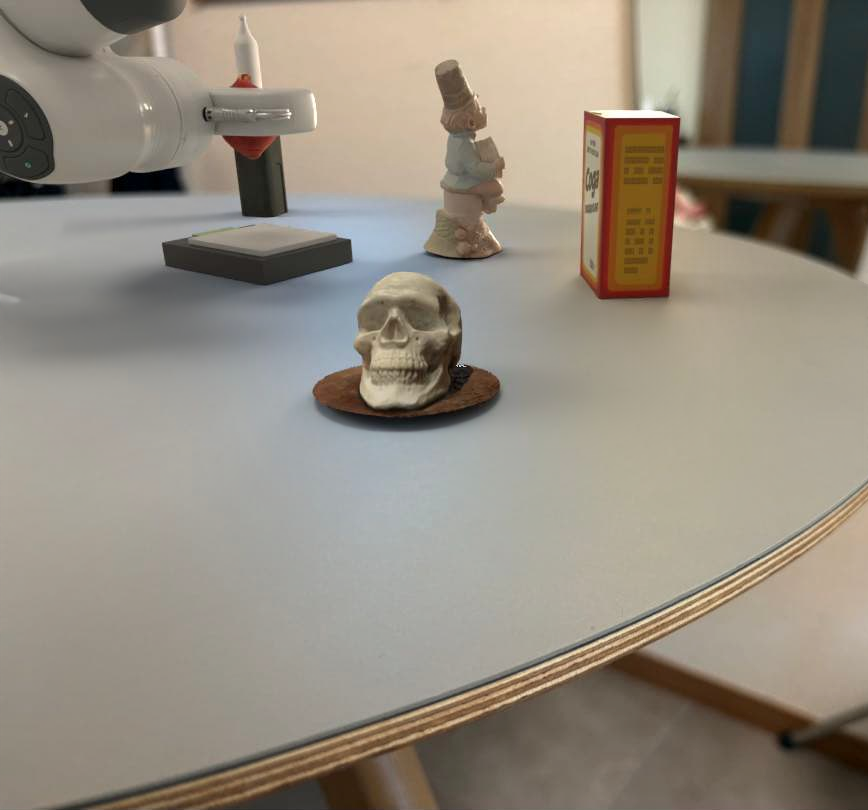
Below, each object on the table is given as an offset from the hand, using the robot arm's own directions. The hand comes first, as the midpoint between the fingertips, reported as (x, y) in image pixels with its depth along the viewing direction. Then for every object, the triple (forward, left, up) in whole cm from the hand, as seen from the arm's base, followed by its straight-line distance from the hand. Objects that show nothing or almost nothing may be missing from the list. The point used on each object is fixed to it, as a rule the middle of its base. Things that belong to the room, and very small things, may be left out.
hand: (250, 105), depth 83 cm
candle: (-24, +21, -16) cm, 36 cm away
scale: (0, 0, -16) cm, 16 cm away
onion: (0, -1, -5) cm, 5 cm away
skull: (+36, -20, -16) cm, 44 cm away
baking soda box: (+35, +13, -16) cm, 40 cm away
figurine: (+14, +16, -16) cm, 26 cm away
